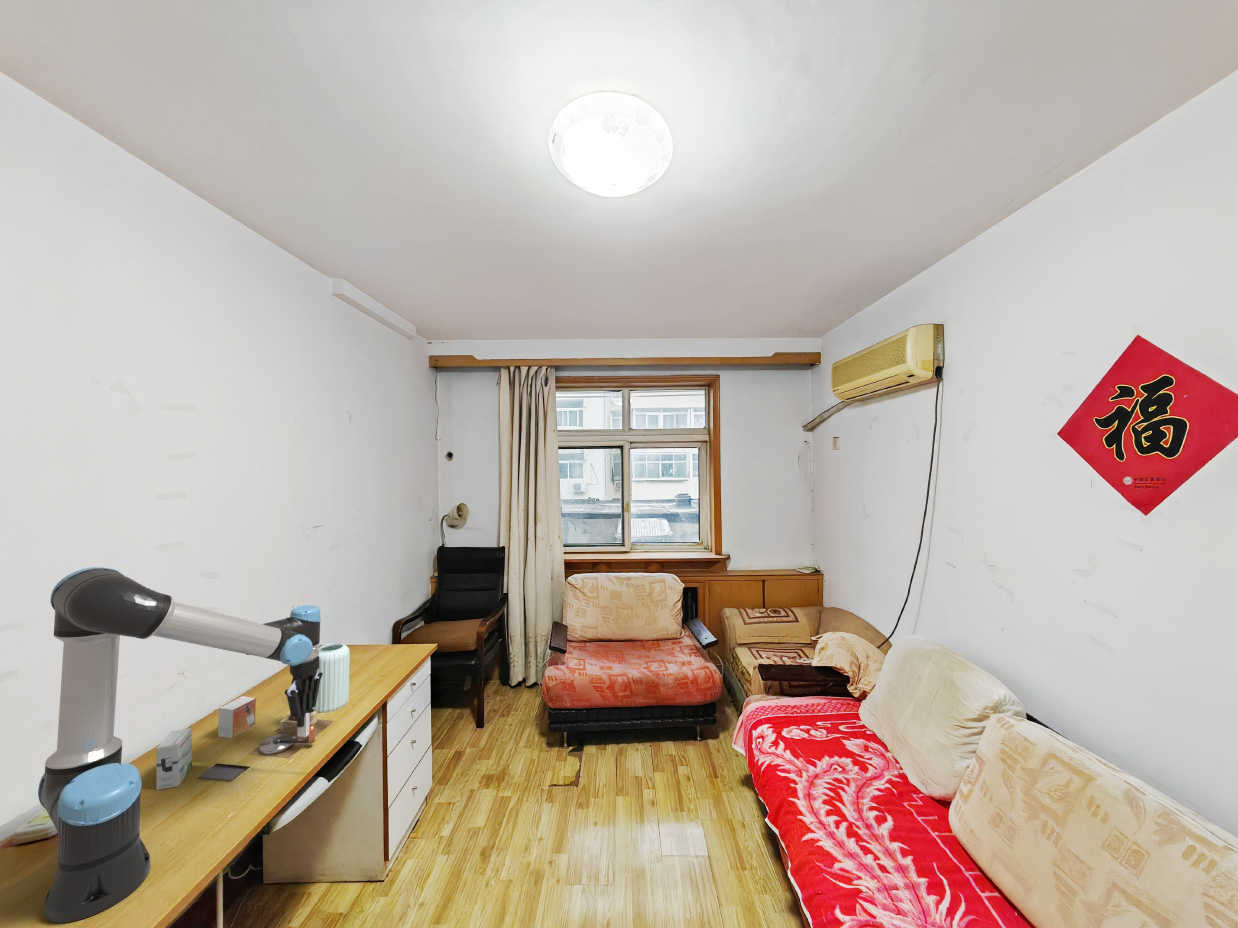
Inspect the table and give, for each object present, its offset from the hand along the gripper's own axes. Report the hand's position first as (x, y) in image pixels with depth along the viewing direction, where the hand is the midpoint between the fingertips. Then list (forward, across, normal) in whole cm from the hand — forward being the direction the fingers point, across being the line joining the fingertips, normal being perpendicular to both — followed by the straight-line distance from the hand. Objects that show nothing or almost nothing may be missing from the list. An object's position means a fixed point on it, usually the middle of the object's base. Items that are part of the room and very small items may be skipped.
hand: (303, 735), depth 147 cm
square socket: (+5, +11, +10) cm, 16 cm away
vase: (+6, +26, +10) cm, 28 cm away
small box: (+6, +6, +28) cm, 29 cm away
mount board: (+6, +6, +8) cm, 11 cm away
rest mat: (+6, -9, +16) cm, 19 cm away
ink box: (+6, -15, +27) cm, 31 cm away
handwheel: (+4, +1, +5) cm, 7 cm away
